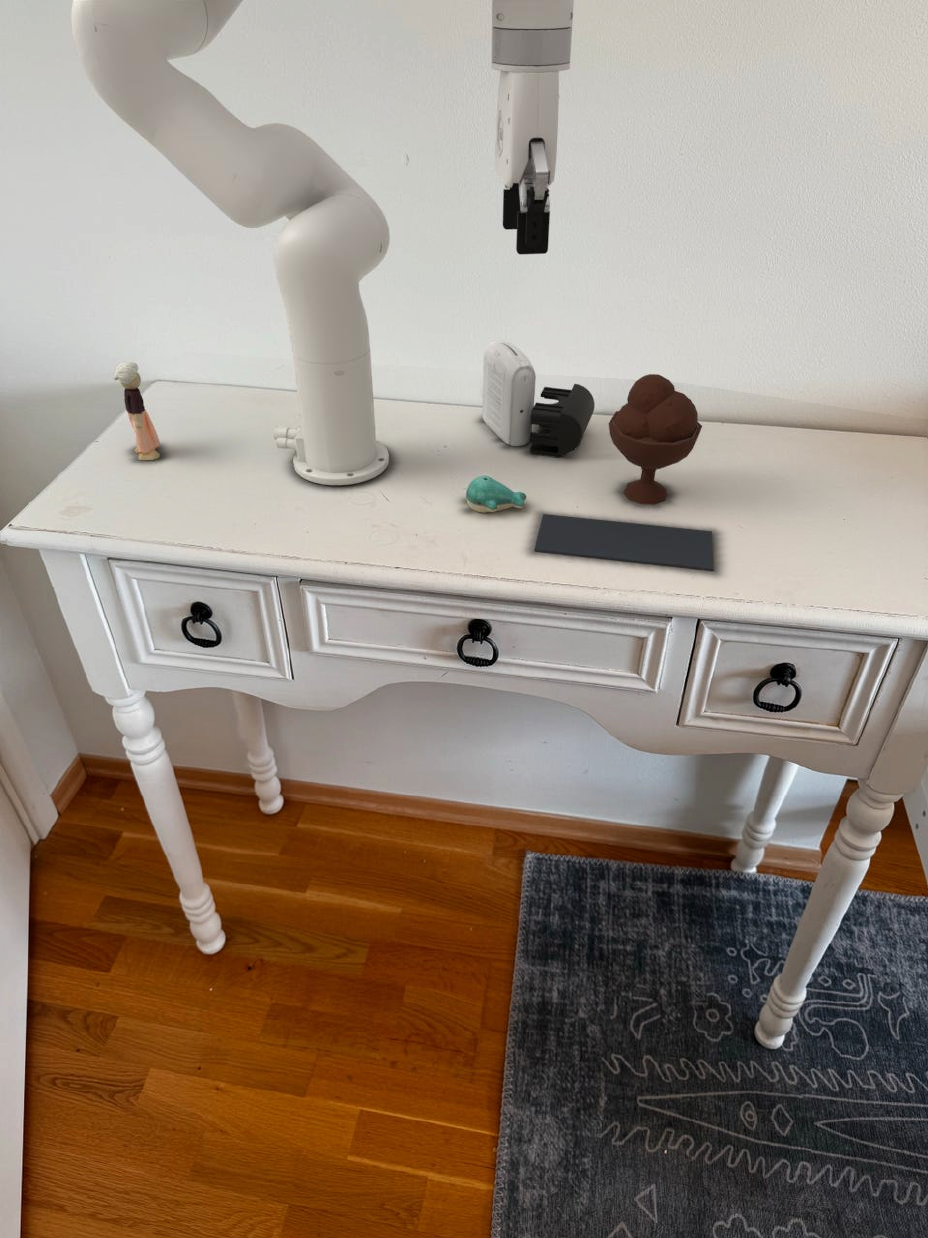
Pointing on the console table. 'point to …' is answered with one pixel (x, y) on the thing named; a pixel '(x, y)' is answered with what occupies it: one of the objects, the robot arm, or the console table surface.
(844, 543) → the console table surface
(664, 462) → the ice cream bowl
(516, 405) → the photo printer
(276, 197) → the robot arm
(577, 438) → the end cap
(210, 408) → the console table surface
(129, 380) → the grandmother figurine
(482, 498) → the whale figurine
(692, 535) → the plate
